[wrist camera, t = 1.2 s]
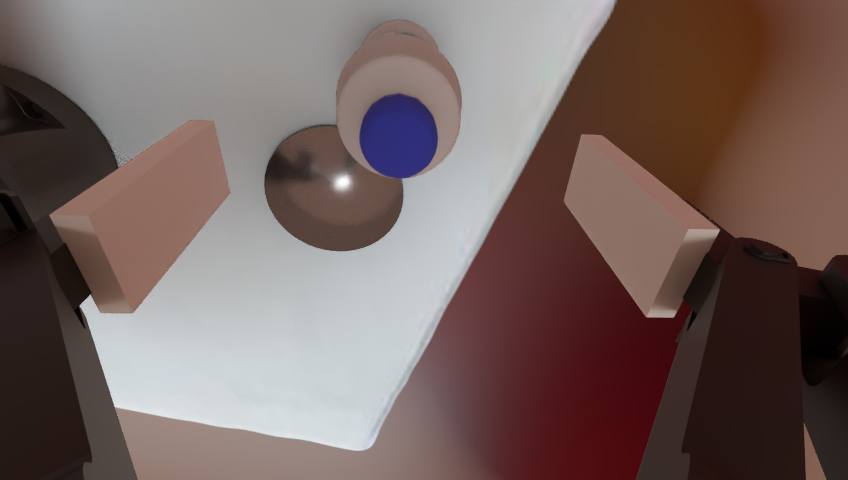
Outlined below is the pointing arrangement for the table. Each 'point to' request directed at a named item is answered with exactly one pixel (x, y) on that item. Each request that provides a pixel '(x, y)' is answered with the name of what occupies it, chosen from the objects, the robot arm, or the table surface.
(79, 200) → the robot arm
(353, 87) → the bottle
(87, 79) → the table surface
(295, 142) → the flange disc
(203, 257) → the table surface
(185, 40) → the table surface
